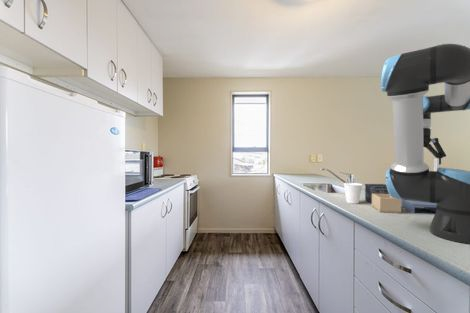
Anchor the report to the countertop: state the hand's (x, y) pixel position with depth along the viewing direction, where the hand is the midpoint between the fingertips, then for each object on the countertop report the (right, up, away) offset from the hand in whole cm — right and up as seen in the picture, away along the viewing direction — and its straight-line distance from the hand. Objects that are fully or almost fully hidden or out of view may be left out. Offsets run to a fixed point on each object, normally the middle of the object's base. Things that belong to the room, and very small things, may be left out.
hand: (420, 171), depth 114 cm
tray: (-16, -20, +2) cm, 25 cm away
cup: (-25, -20, +17) cm, 36 cm away
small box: (-10, -20, +19) cm, 29 cm away
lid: (0, -20, +1) cm, 20 cm away
